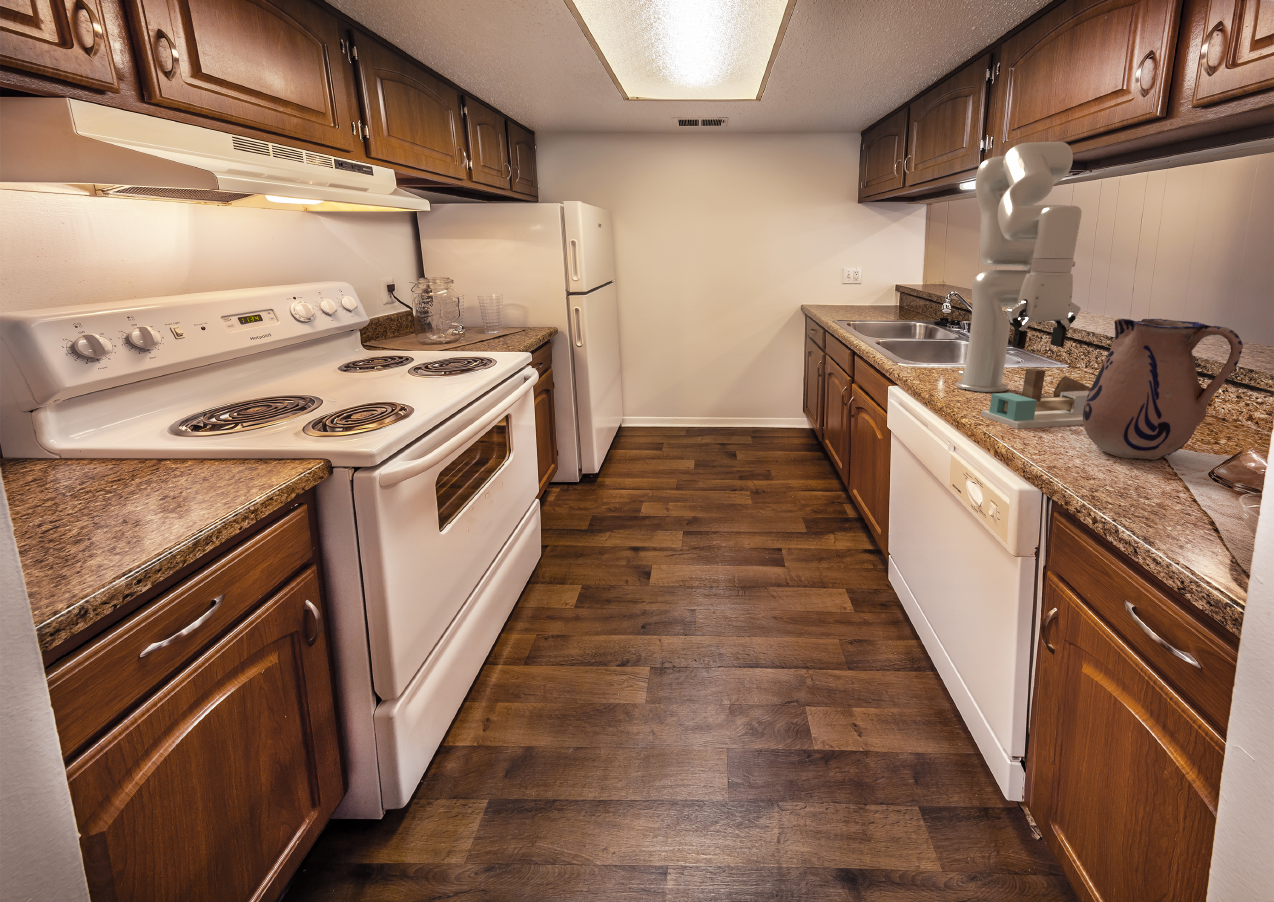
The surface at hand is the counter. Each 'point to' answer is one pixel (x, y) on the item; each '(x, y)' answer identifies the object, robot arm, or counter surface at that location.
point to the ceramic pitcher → (1152, 388)
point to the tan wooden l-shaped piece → (1034, 391)
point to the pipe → (1069, 386)
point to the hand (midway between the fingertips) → (1037, 347)
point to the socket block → (1013, 406)
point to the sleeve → (1075, 401)
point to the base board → (1039, 419)
